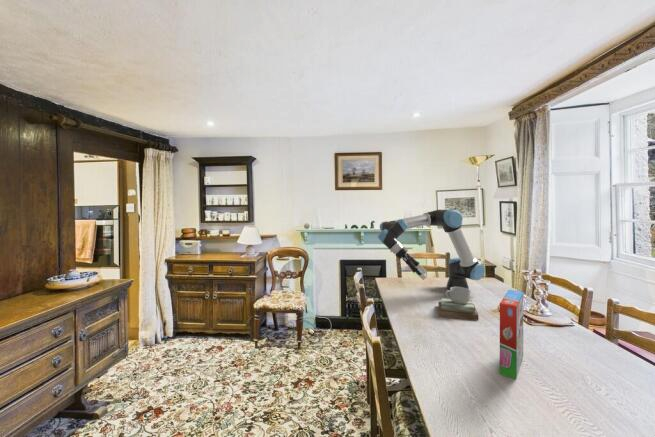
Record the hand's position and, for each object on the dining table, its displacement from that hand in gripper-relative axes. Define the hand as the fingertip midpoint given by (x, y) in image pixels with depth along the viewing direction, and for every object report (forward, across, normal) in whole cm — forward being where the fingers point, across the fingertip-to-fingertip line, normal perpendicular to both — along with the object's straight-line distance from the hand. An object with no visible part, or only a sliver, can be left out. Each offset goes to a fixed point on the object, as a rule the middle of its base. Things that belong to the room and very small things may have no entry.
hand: (425, 275), depth 177 cm
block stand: (+27, 0, -2) cm, 27 cm away
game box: (+38, +54, +8) cm, 67 cm away
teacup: (+23, 0, +2) cm, 23 cm away
